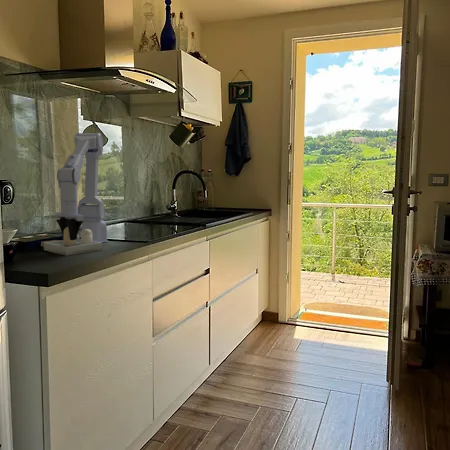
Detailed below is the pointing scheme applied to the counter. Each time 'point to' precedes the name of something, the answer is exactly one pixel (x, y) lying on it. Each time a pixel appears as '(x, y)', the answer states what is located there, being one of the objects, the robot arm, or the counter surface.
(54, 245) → the white square tray shape
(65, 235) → the egg
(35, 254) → the counter surface
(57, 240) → the egg stand
